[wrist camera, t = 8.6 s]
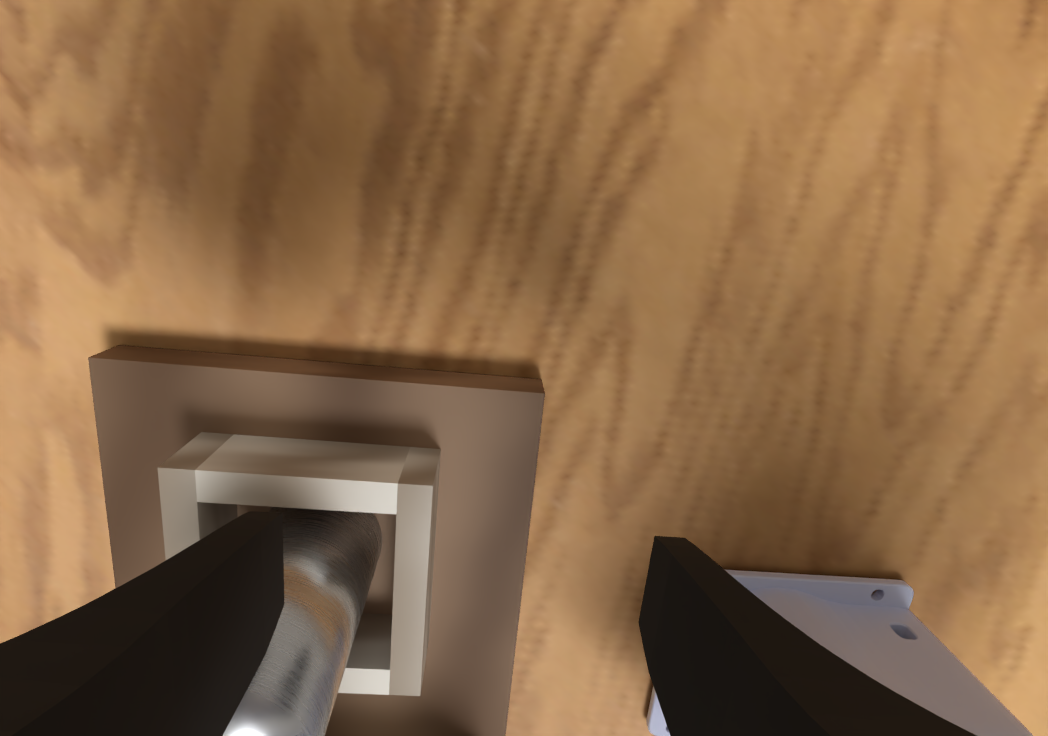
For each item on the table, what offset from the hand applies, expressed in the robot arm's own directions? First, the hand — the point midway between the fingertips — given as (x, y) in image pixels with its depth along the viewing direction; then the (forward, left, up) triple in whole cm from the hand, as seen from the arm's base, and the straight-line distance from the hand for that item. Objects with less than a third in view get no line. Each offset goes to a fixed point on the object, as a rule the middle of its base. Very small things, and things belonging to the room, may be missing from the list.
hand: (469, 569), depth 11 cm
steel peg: (+5, +5, -8) cm, 11 cm away
